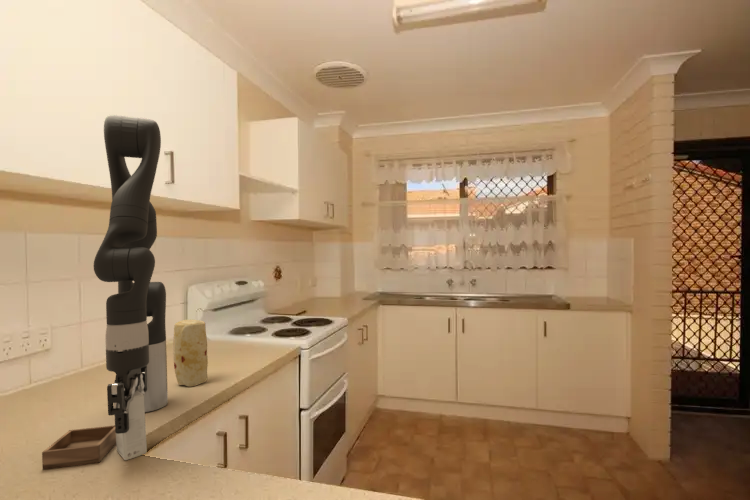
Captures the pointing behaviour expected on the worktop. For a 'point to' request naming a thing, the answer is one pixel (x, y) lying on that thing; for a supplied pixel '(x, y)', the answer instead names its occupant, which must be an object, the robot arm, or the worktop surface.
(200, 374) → the food model
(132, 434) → the skincare box
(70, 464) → the brown square tray
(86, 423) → the worktop surface
